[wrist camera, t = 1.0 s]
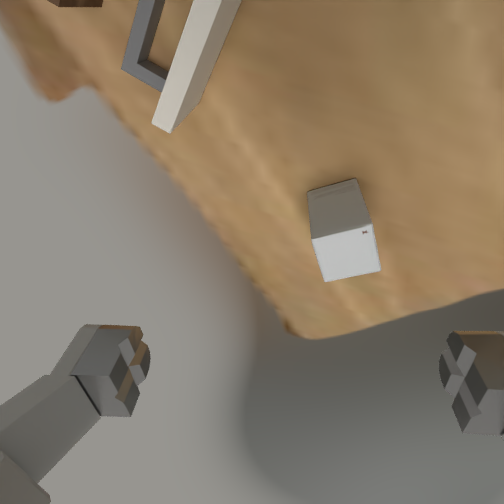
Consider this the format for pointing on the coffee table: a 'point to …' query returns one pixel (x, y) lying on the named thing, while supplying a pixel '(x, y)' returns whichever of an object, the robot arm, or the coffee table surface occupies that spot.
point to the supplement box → (342, 231)
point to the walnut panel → (77, 3)
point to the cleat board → (179, 55)
